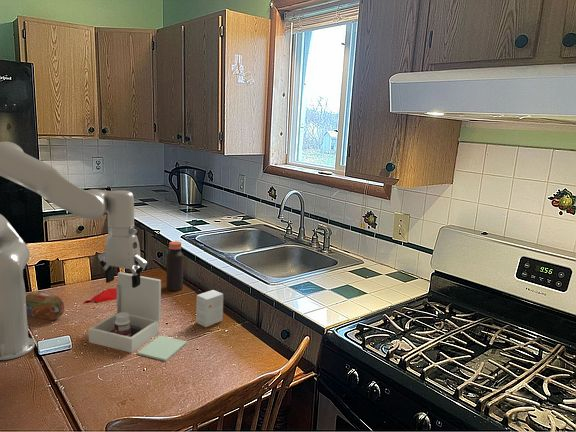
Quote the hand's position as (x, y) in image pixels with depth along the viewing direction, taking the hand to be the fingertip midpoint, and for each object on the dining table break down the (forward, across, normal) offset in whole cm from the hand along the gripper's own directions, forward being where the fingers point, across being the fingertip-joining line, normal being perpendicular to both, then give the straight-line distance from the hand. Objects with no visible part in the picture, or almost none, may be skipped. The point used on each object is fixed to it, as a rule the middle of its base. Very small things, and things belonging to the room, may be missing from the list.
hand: (123, 283), depth 138 cm
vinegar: (+19, +9, -45) cm, 50 cm away
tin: (+19, +34, -2) cm, 39 cm away
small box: (+19, -18, -23) cm, 35 cm away
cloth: (+20, +27, -29) cm, 44 cm away
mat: (+19, -15, 0) cm, 24 cm away
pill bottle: (+19, 0, 0) cm, 19 cm away
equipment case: (+19, 0, -1) cm, 19 cm away
